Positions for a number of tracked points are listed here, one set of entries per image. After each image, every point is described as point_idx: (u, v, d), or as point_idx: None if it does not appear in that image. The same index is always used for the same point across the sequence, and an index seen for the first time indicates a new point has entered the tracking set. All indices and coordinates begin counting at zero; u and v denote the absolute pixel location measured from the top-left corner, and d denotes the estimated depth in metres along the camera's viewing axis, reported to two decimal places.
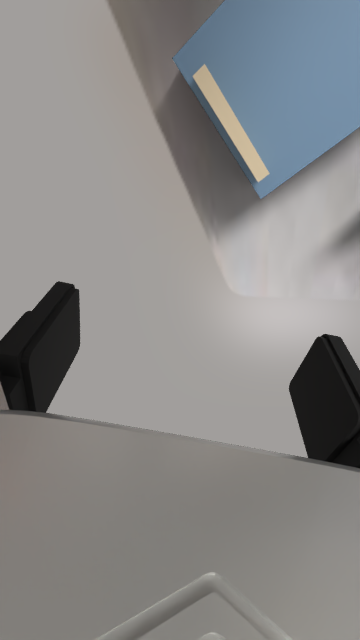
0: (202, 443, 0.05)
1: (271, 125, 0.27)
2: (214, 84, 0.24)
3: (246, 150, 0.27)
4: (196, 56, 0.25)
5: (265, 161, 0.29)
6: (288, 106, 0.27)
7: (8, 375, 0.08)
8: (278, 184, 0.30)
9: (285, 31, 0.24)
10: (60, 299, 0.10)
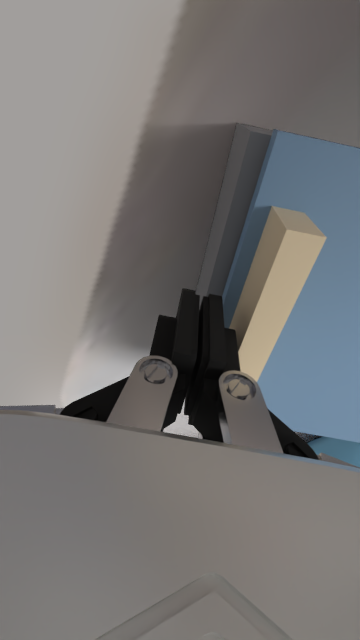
0: (202, 443, 0.05)
1: (287, 365, 0.15)
2: (299, 282, 0.10)
3: None
4: (312, 182, 0.10)
5: None
6: (326, 367, 0.15)
7: None
8: None
9: None
10: (193, 304, 0.11)
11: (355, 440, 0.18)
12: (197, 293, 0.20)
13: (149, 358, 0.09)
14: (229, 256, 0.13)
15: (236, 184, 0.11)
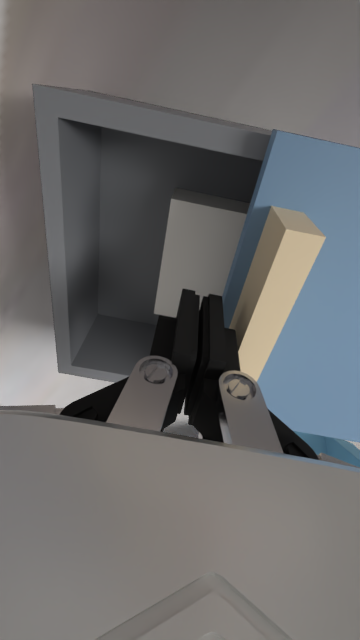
0: (202, 443, 0.05)
1: (287, 364, 0.15)
2: (299, 281, 0.10)
3: None
4: (311, 182, 0.10)
5: None
6: (325, 367, 0.15)
7: None
8: None
9: None
10: (193, 304, 0.11)
11: (355, 440, 0.18)
12: None
13: (149, 358, 0.09)
14: (57, 222, 0.13)
15: (39, 143, 0.11)
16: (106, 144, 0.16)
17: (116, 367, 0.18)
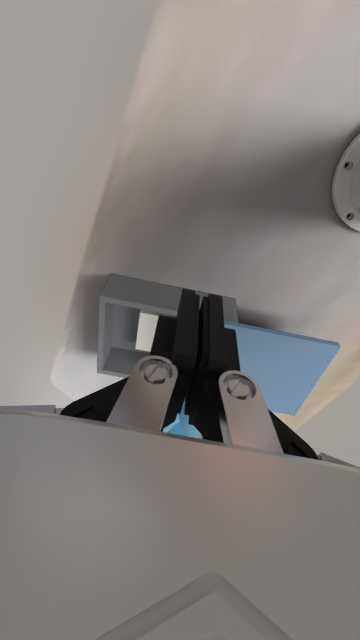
0: (202, 443, 0.05)
1: None
2: None
3: None
4: None
5: None
6: None
7: None
8: None
9: (252, 357, 0.40)
10: (193, 304, 0.11)
11: None
12: None
13: (149, 358, 0.09)
14: (102, 325, 0.40)
15: (99, 306, 0.39)
16: None
17: (120, 370, 0.46)
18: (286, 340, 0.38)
